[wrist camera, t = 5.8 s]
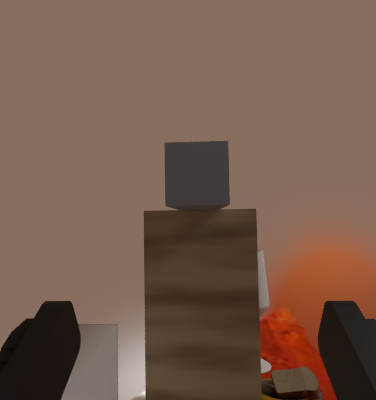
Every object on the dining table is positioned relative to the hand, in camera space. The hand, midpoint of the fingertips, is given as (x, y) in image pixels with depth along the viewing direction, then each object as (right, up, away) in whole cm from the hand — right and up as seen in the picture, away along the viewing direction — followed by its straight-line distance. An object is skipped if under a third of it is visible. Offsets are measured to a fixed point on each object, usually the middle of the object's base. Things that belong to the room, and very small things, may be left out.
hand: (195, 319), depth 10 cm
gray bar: (+1, +3, +22) cm, 22 cm away
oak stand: (+2, -29, +25) cm, 39 cm away
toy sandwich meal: (+15, -31, +43) cm, 55 cm away
